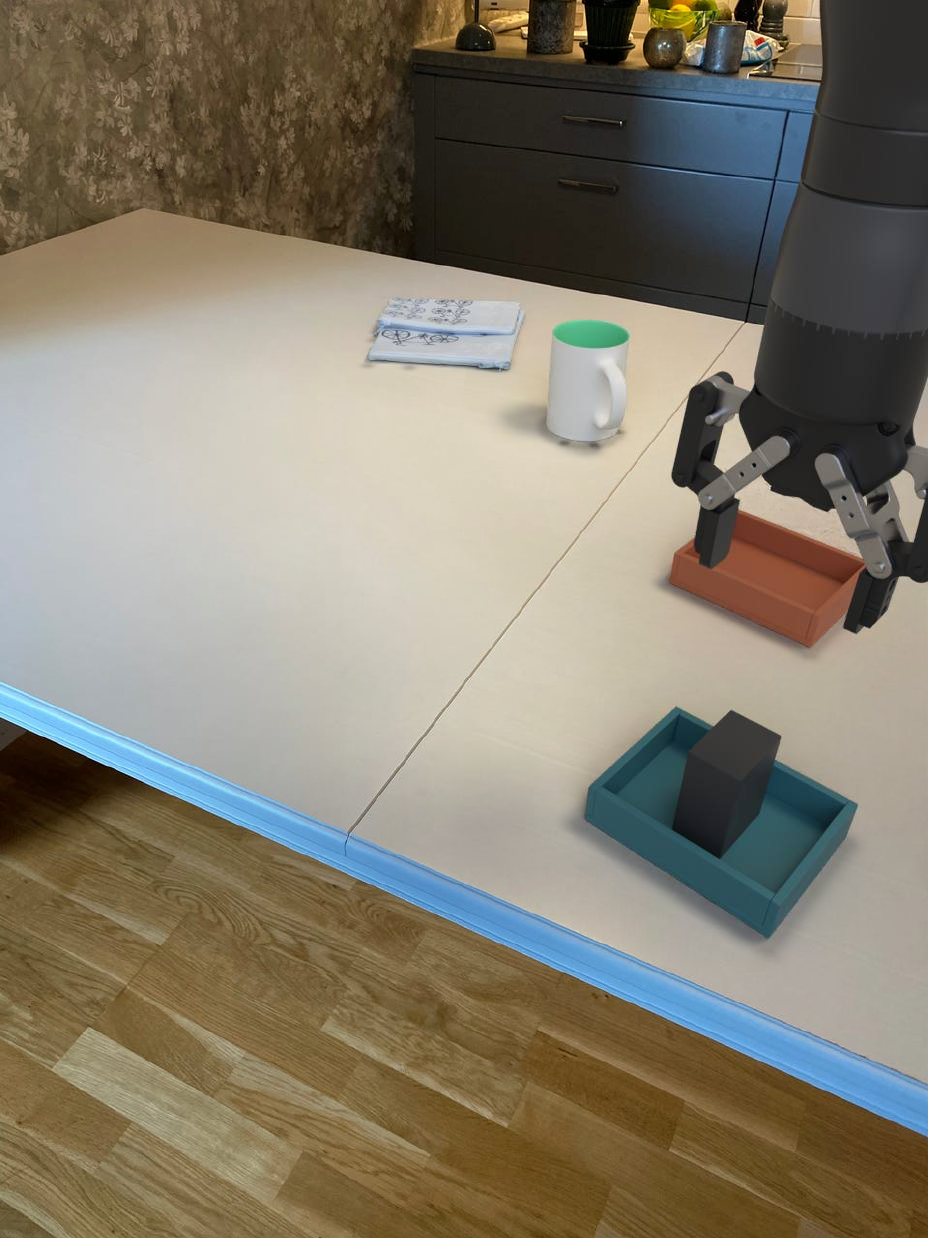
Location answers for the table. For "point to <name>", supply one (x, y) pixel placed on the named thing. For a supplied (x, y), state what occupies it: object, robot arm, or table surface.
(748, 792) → the block
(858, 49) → the robot arm
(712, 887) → the teal bin
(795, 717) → the table surface
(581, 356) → the mug
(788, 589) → the terracotta bin
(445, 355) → the light blue folded towel
